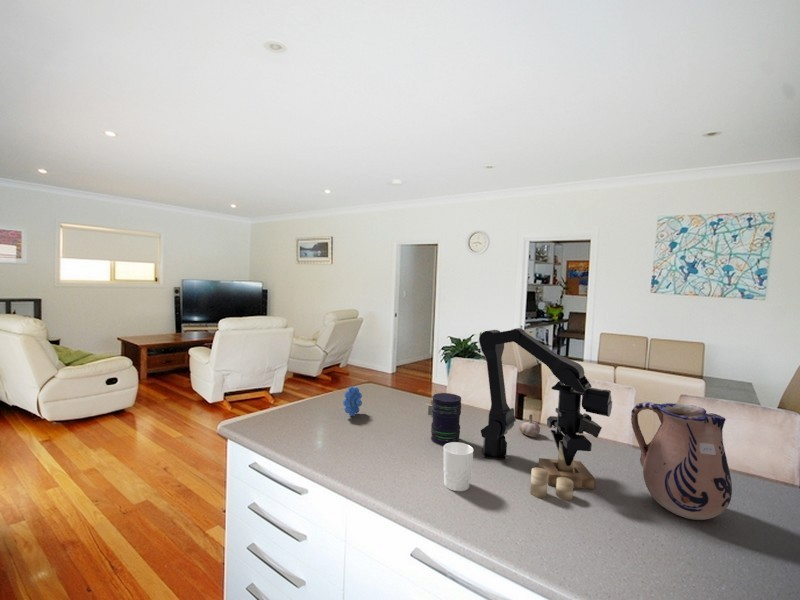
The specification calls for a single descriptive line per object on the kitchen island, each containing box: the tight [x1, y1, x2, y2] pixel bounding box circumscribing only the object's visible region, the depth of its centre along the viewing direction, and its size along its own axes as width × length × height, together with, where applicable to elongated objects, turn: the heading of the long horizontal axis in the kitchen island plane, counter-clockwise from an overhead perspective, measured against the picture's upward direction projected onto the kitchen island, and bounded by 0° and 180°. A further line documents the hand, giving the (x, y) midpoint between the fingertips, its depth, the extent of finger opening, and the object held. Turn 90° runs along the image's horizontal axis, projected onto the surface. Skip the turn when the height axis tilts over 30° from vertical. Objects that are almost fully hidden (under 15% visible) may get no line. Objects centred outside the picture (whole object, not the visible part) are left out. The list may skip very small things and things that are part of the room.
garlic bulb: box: [518, 413, 541, 438], centre depth 142 cm, size 8×7×8 cm
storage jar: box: [430, 392, 462, 447], centre depth 133 cm, size 10×10×15 cm
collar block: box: [537, 457, 596, 490], centre depth 110 cm, size 12×10×3 cm
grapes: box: [342, 386, 363, 417], centre depth 153 cm, size 12×7×12 cm, turn 153°
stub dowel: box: [555, 477, 574, 501], centre depth 101 cm, size 4×4×4 cm
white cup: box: [442, 441, 475, 492], centre depth 104 cm, size 8×8×10 cm
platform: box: [425, 398, 433, 417], centre depth 158 cm, size 12×18×7 cm, turn 55°
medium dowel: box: [529, 467, 548, 499], centre depth 101 cm, size 4×4×6 cm
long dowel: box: [557, 440, 575, 473], centre depth 110 cm, size 4×4×9 cm
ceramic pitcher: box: [630, 401, 733, 521], centre depth 97 cm, size 18×21×25 cm
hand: (565, 462), depth 110 cm, fingers closed on long dowel, 4 cm apart
